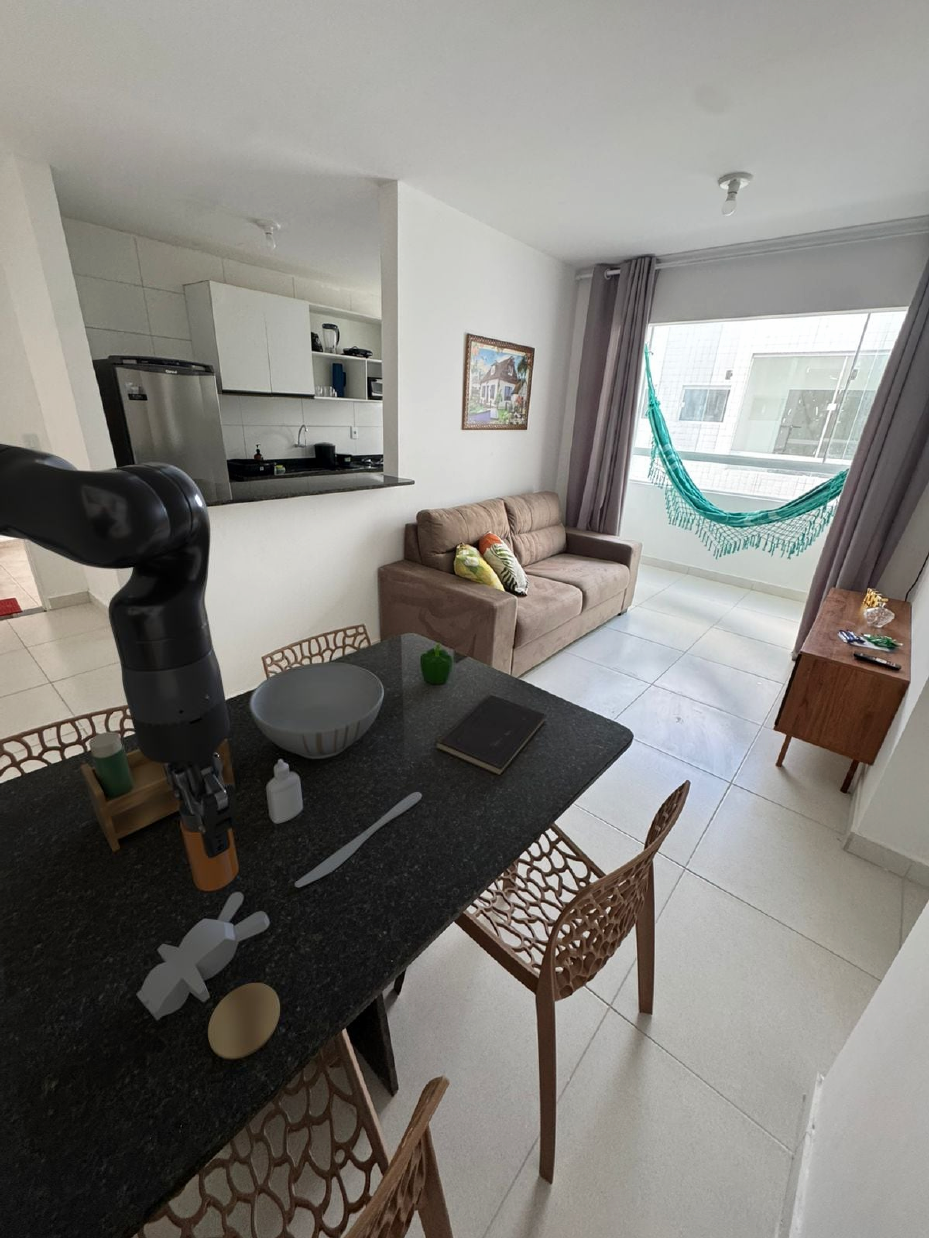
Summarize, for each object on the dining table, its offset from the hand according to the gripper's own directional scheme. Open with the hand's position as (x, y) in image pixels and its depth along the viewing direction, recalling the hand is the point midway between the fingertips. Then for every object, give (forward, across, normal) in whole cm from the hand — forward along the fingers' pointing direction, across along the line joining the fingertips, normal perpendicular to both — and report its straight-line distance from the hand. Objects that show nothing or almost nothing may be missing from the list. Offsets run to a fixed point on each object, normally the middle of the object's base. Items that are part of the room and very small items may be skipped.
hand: (208, 837), depth 53 cm
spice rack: (+27, -40, +5) cm, 49 cm away
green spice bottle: (+19, -40, -1) cm, 45 cm away
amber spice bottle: (+5, 0, 0) cm, 5 cm away
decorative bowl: (+27, -38, +35) cm, 59 cm away
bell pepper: (+28, -40, +71) cm, 86 cm away
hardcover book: (+28, -14, +64) cm, 71 cm away
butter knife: (+27, -10, +26) cm, 39 cm away
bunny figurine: (+27, -8, -1) cm, 29 cm away
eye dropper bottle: (+27, -24, +19) cm, 41 cm away
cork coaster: (+27, +2, -1) cm, 28 cm away
